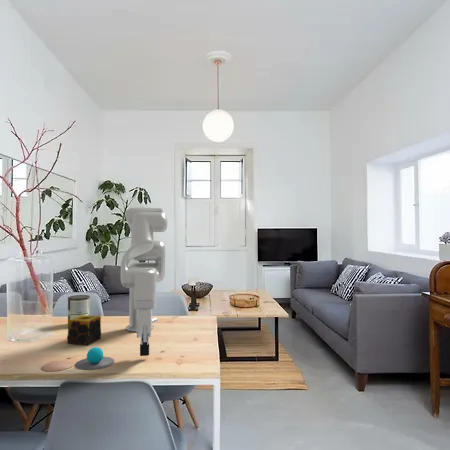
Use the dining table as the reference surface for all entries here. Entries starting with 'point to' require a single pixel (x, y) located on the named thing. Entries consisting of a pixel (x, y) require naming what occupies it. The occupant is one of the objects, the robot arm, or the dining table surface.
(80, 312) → the coffee can
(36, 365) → the dining table surface
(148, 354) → the robot arm
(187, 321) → the dining table surface
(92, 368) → the disc
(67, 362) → the disc
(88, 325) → the candle
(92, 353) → the ball
